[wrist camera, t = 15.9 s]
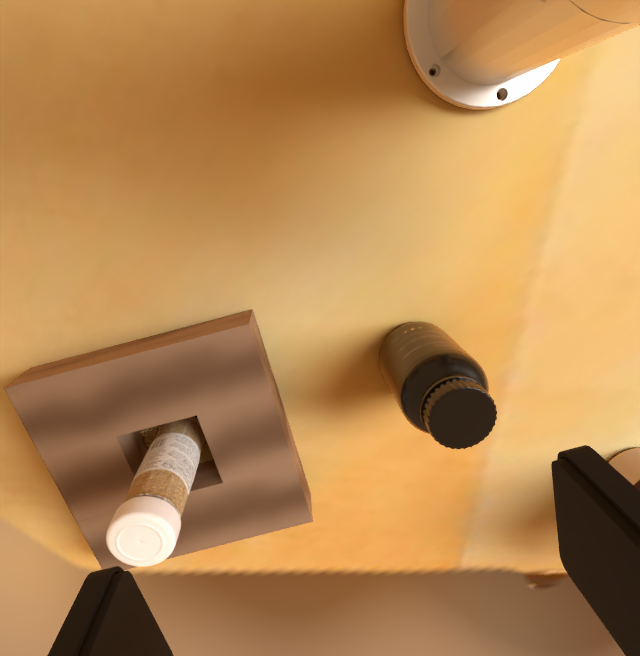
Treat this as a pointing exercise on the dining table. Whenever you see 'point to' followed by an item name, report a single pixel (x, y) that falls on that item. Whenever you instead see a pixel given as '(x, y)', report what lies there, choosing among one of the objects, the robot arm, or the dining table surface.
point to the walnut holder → (164, 407)
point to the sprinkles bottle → (157, 496)
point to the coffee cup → (628, 465)
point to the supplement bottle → (437, 385)
